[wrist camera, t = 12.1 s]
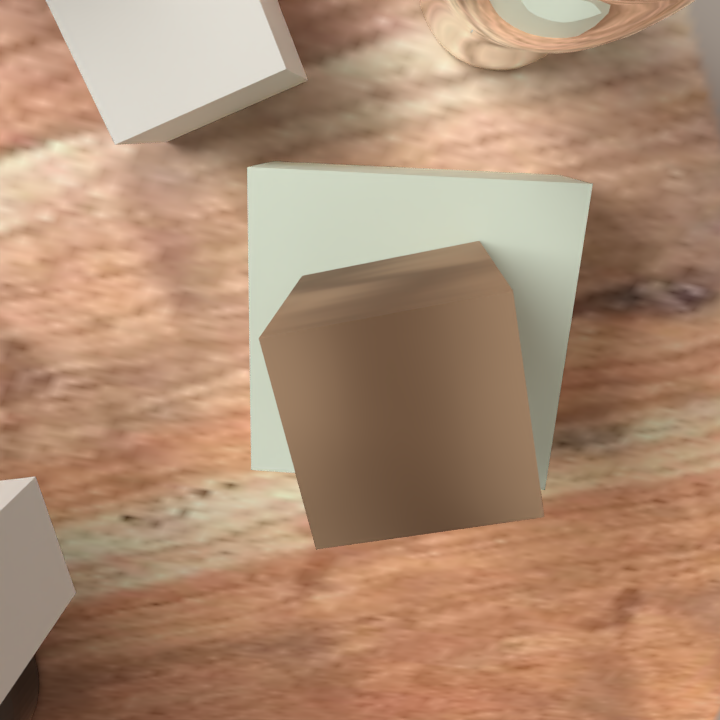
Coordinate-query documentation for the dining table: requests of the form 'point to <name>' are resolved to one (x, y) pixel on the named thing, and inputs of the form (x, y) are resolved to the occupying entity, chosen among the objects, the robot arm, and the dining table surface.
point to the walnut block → (405, 397)
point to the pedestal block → (409, 236)
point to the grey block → (177, 60)
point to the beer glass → (536, 26)
